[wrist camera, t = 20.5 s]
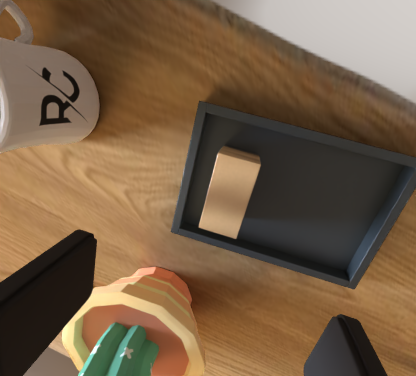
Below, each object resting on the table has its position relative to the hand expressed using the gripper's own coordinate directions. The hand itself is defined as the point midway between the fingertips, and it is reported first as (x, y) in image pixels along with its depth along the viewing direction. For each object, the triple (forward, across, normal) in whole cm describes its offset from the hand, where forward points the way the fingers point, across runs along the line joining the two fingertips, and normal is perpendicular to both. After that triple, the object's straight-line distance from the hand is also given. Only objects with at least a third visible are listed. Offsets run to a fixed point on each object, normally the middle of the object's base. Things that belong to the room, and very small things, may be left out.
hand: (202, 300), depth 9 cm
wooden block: (+16, 0, 0) cm, 16 cm away
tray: (+16, -5, 0) cm, 17 cm away
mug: (+16, +20, -5) cm, 26 cm away
